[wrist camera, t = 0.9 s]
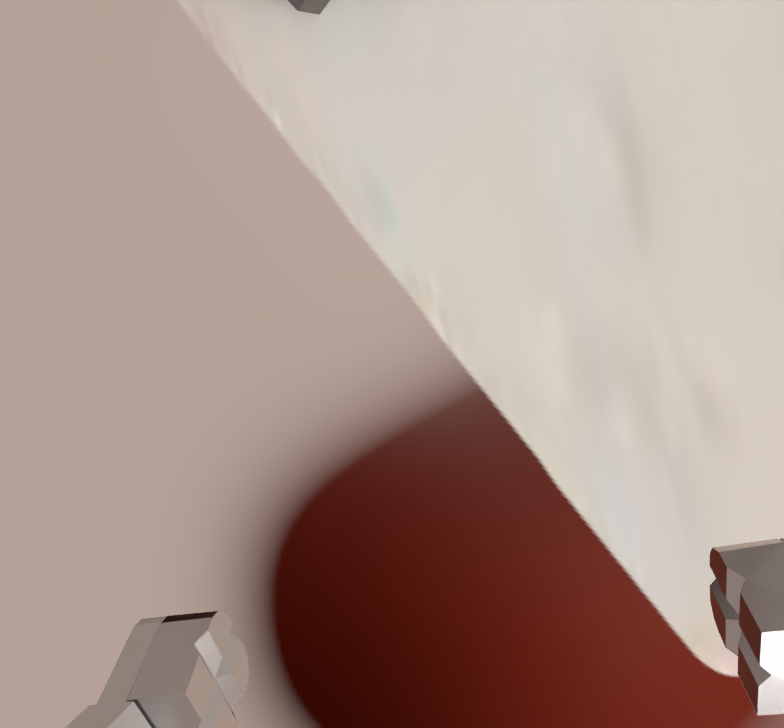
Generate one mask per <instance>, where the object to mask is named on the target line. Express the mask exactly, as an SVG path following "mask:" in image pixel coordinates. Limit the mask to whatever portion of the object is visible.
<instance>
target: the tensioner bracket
mask: <svg viewBox="0 0 784 728" xmlns="http://www.w3.org/2000/svg"><path fill="white" fill-rule="evenodd" d="M288 1H289V2H290V3H291V4H292V5H293V6H294V7H295V8H296V9H297V10H298V11H302V12H309V13H315V14H320V13H321V12H322V10H323V9H324V7H325V6H326V5H327V3H328V2H329V1H330V0H288Z"/></svg>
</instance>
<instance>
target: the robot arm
mask: <svg viewBox="0 0 784 728" xmlns="http://www.w3.org/2000/svg"><path fill="white" fill-rule="evenodd" d="M710 567H711V569H712V571H713V573H714V575H715V577H716V579H715V580H714V582H713V583H712V584H711V585H710V601H711V606H712V611H713V616H714V620H715V622H716V625H717V628H718V631H719V634H720V636H721V638H722V640H723V643H724V645H725V647H726V648H727V649H729V650H730V651H731V652H733V653H734V654H736V655H737V656H738V675H739V677H740V680H741V681H742V684H743V686H744V688H745V690H746V692H747V694H748V696H749V699H750V701H751V703H752V705H753V707H754V709H755V711H756V713H757V715H770V714H784V538H782V539H780V540H779V539H772V540H765V541H757V542H750V543H743V544H736V545H728V546H721V547H714V548H712V550H711V552H710ZM231 627H232V623H231V621H230V619H229V617H228V615H227V614H226V612H225V611H213V612H204V613H193V614H183V615H173V616H166V617H157V618H147V619H142V620H140V621H139V622H138V623H137V624H136V625H135V626H134V628H133V630H132V632H131V634H130V636H129V638H128V640H127V642H126V644H125V647H124V649H123V651H122V653H121V655H120V657H119V659H118V661H117V663H116V665H115V667H114V670H113V671H112V673H111V676H110V678H109V680H108V682H107V684H106V686H105V688H104V690H103V692H102V694H101V696H100V699H99V701H98V703H97V705H91V706H88V707H87V708H86V709H85V710H84V711H83V712H81V713H80V714H79V715H78V716H77V717H76V718H75V719H74V720H73V721H72V722H71V723H70V724H69V725H67V726H66V727H65V728H236V726H237V720H236V718H235V716H234V713H233V711H232V710H233V709H234V708H235V707H236V706H237V705H238V704H239V703H240V701H241V700H242V699H243V698H244V696H245V692H246V688H247V684H248V667H249V663H248V658H247V654H246V650H245V648H244V646H243V644H242V642H241V641H240V640H239V639H237V638H235V637H234V636H232V635H231V634H229V633H230V630H231Z"/></svg>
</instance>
